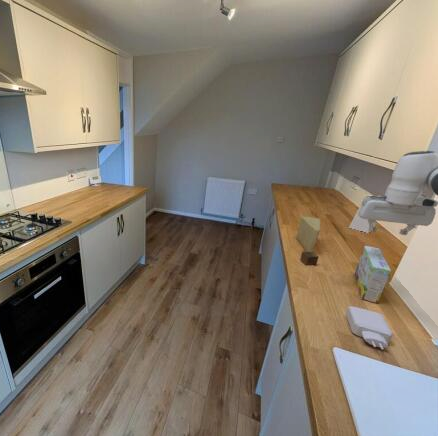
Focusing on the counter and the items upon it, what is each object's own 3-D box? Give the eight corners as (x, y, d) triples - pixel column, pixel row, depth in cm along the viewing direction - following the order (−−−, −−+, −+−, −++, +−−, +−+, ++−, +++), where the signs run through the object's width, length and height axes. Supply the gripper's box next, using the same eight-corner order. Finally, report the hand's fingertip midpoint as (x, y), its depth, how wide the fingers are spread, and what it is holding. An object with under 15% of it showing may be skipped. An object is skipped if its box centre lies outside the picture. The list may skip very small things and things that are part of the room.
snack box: (352, 273, 110) (363, 244, 105) (368, 277, 107) (380, 248, 102) (359, 299, 93) (373, 266, 88) (378, 304, 91) (393, 271, 85)
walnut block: (309, 260, 121) (312, 251, 119) (316, 265, 116) (318, 256, 114) (299, 260, 121) (302, 251, 119) (305, 265, 116) (308, 256, 114)
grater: (354, 225, 167) (364, 198, 160) (373, 230, 159) (384, 201, 152) (348, 228, 162) (358, 200, 155) (367, 233, 154) (378, 204, 147)
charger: (356, 347, 72) (345, 315, 85) (396, 360, 68) (378, 325, 81) (361, 335, 71) (349, 305, 83) (402, 348, 67) (383, 314, 79)
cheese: (321, 257, 123) (329, 231, 118) (299, 253, 127) (306, 228, 122) (314, 241, 142) (321, 217, 137) (295, 237, 146) (301, 215, 141)
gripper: (369, 196, 86) (356, 231, 91) (445, 203, 79) (427, 240, 84) (361, 192, 91) (350, 225, 96) (432, 198, 85) (416, 233, 90)
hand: (386, 232), depth 90 cm, fingers open, 8 cm apart
